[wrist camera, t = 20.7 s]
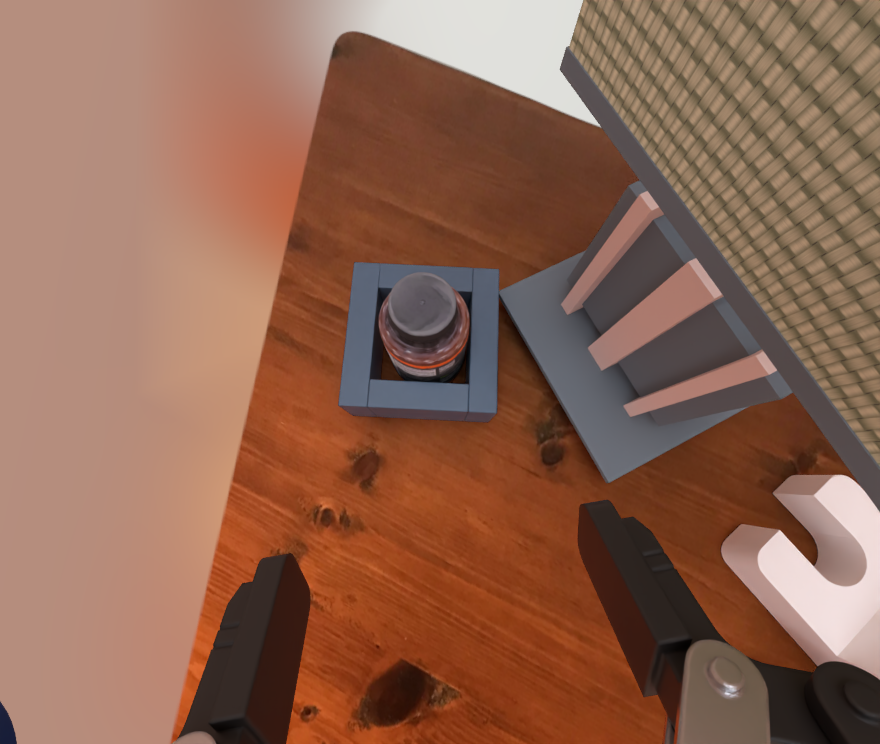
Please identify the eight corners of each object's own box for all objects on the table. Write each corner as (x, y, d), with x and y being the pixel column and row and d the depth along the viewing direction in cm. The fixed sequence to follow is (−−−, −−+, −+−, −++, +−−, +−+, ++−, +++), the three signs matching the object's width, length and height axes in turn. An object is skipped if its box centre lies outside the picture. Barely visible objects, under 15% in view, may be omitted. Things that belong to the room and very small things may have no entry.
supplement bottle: (415, 311, 35) (404, 237, 24) (476, 343, 35) (493, 282, 24) (379, 370, 34) (350, 320, 23) (441, 404, 33) (443, 370, 22)
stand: (352, 415, 33) (337, 405, 28) (365, 290, 36) (354, 261, 31) (488, 422, 33) (497, 413, 28) (491, 296, 36) (499, 268, 31)
